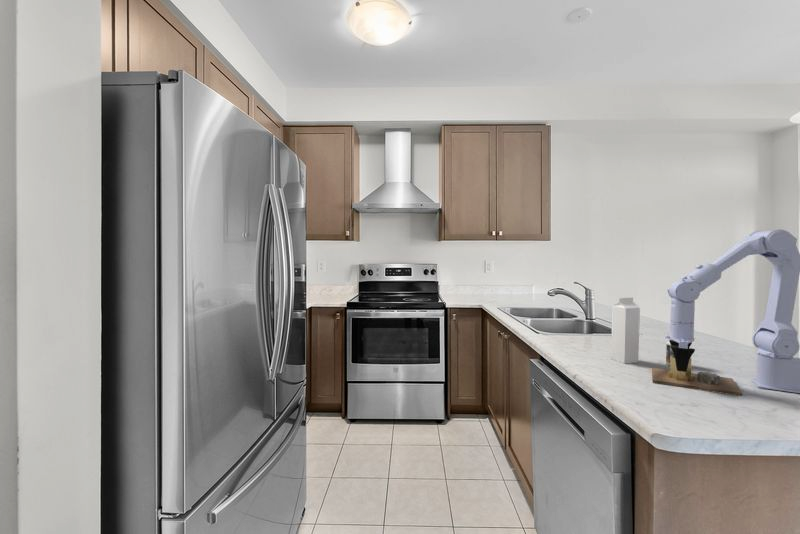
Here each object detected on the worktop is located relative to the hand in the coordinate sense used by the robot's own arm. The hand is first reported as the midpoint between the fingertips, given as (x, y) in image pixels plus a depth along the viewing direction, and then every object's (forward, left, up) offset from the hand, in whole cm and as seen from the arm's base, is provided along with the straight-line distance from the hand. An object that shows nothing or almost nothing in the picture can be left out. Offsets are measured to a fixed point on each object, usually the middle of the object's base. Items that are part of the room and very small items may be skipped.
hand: (680, 367), depth 119 cm
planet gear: (0, 0, -3) cm, 3 cm away
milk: (+15, -15, -4) cm, 22 cm away
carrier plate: (-3, 0, -4) cm, 5 cm away
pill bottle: (0, -18, -4) cm, 18 cm away
